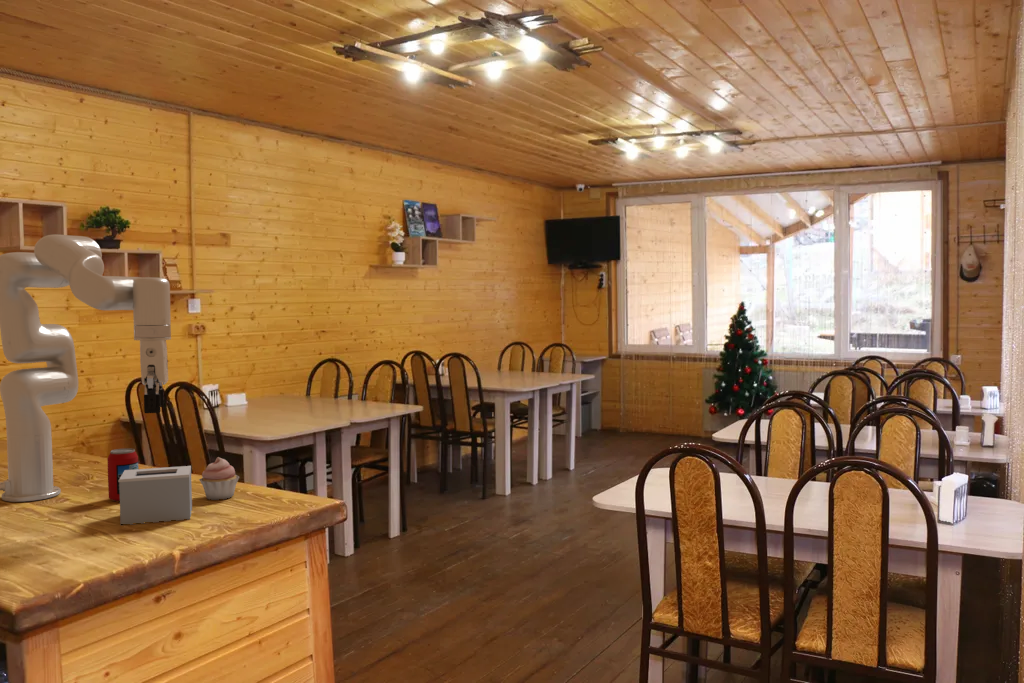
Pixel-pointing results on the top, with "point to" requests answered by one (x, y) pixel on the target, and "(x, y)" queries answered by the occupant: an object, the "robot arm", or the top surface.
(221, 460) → the cupcake
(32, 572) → the top surface
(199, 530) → the top surface
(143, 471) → the grey box
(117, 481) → the beverage can
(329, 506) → the top surface
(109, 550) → the top surface
